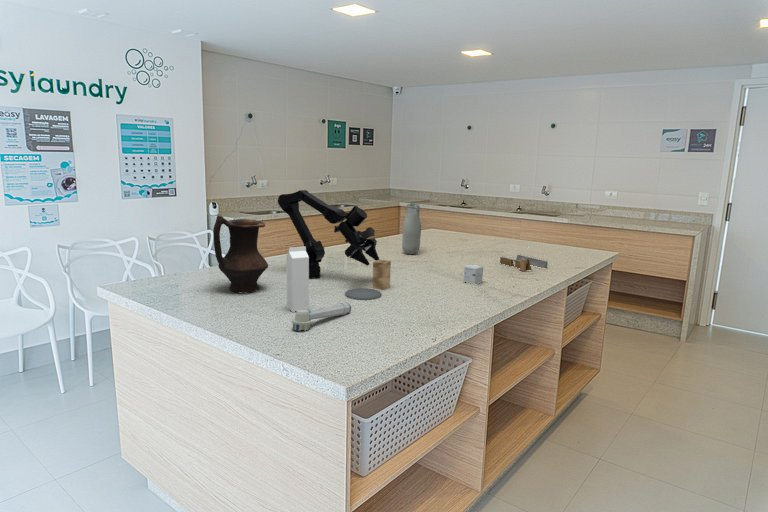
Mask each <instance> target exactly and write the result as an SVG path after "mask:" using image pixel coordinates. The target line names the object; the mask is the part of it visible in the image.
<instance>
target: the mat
mask: <svg viewBox="0 0 768 512" xmlns="http://www.w3.org/2000/svg"><path fill="white" fill-rule="evenodd" d="M344 296H345V297H346V298H349V299H351V300H357V301H370V300H371V301H372V299H373V300H377V299H380V298H381V297H382V291H381V290H379V289H373V288H368V287H367V288H366V287H360V288H351V289H347V290H346V291H345V292H344Z"/></svg>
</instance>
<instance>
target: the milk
mask: <svg viewBox="0 0 768 512" xmlns="http://www.w3.org/2000/svg"><path fill="white" fill-rule="evenodd" d="M285 263H286V265H285V266H286V308H287V310H289V309H290V310H291V311H290V310H289V311H290V312H291V313H296V312H295V311H298V310H310V309H309V308H310V304H309V303H310V295H309V293H310V291H309V290H310V279H309V256H308V254H307V252H306V247H305V246H304V245H303V246H292V247H291V246H290V247H289V249H288V252H287V254H286V259H285Z"/></svg>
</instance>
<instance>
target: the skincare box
mask: <svg viewBox="0 0 768 512" xmlns="http://www.w3.org/2000/svg"><path fill="white" fill-rule="evenodd" d="M483 274H484V266H480V265H475V264H468V265H464V270H463V283H464V282H466V283H465V284H468V283H471V284H470V285H472V284H477V285H479V284H478V283H480V284H482V283H483ZM481 282H482V283H481Z"/></svg>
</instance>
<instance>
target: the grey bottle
mask: <svg viewBox="0 0 768 512" xmlns="http://www.w3.org/2000/svg"><path fill="white" fill-rule="evenodd" d="M420 209H421V208H420V205H419V203H413V202H410V203H408V204H407V205H406V214H405V216H404V220H403V222H402V223H403V224H402V245H401V246H402V248H401V249H402V250H403V252H404V253H405V254H407V255H416V254H418V253H419V251H420V249H421V235H422V234H421V233H422V222H421V217H420V211H421V210H420Z"/></svg>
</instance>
